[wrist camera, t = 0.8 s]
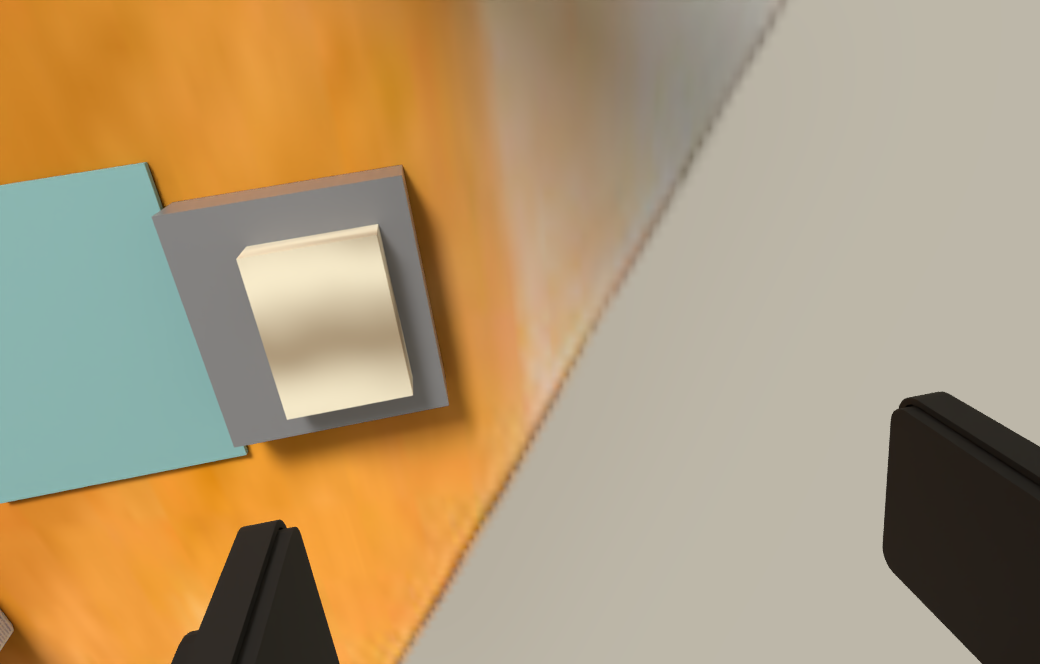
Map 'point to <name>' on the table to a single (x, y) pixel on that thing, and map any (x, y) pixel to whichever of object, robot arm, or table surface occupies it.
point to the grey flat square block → (227, 310)
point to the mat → (95, 340)
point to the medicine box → (4, 629)
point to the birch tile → (328, 320)
